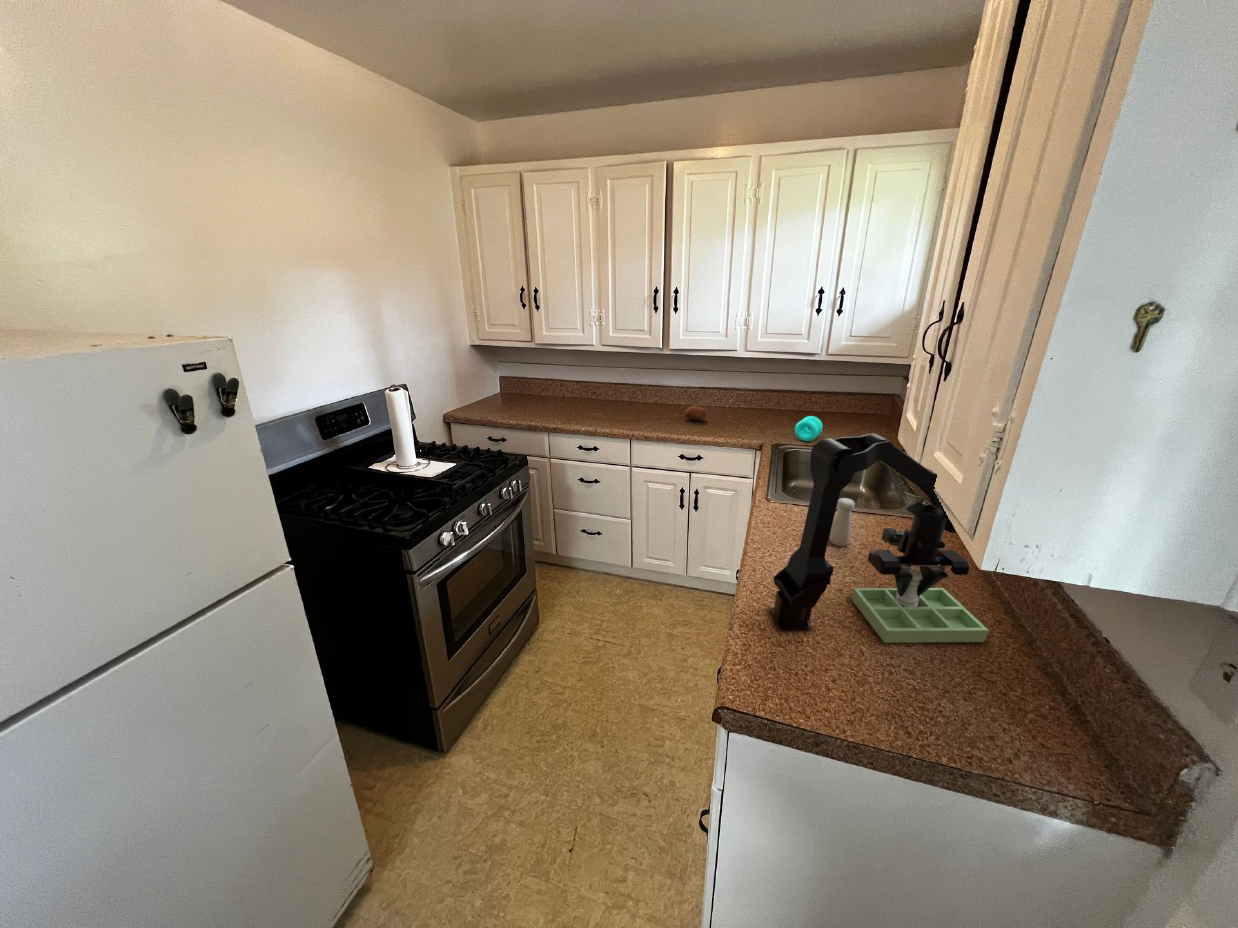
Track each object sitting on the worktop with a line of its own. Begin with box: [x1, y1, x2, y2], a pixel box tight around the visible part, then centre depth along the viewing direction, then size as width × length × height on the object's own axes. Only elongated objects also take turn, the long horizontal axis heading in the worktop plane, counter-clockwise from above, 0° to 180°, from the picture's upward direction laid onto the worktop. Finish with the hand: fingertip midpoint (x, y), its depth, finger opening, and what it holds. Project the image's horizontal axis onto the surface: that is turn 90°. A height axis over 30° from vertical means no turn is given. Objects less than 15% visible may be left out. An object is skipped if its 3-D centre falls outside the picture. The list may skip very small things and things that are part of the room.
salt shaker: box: [829, 497, 856, 547], centre depth 130 cm, size 6×6×13 cm
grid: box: [850, 587, 989, 644], centre depth 102 cm, size 21×14×3 cm
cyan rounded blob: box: [794, 415, 824, 442], centre depth 216 cm, size 10×10×10 cm
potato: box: [684, 405, 707, 422], centre depth 243 cm, size 8×11×8 cm
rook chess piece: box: [895, 568, 923, 607], centre depth 104 cm, size 4×4×8 cm
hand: (908, 595), depth 105 cm, fingers closed on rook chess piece, 3 cm apart
